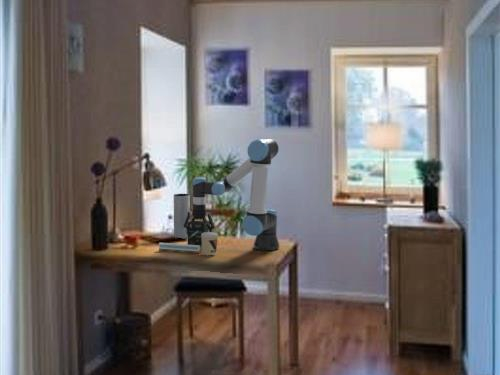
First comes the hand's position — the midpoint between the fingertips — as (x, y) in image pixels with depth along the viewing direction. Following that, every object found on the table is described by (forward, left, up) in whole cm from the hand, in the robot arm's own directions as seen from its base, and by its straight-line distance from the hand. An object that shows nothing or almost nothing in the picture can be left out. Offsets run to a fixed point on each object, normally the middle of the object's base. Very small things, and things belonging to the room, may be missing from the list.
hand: (199, 239), depth 394 cm
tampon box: (0, 0, -4) cm, 4 cm away
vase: (+18, -19, -4) cm, 26 cm away
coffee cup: (-13, +21, -4) cm, 25 cm away
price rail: (+5, +21, -2) cm, 21 cm away
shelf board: (+5, +14, -3) cm, 15 cm away
